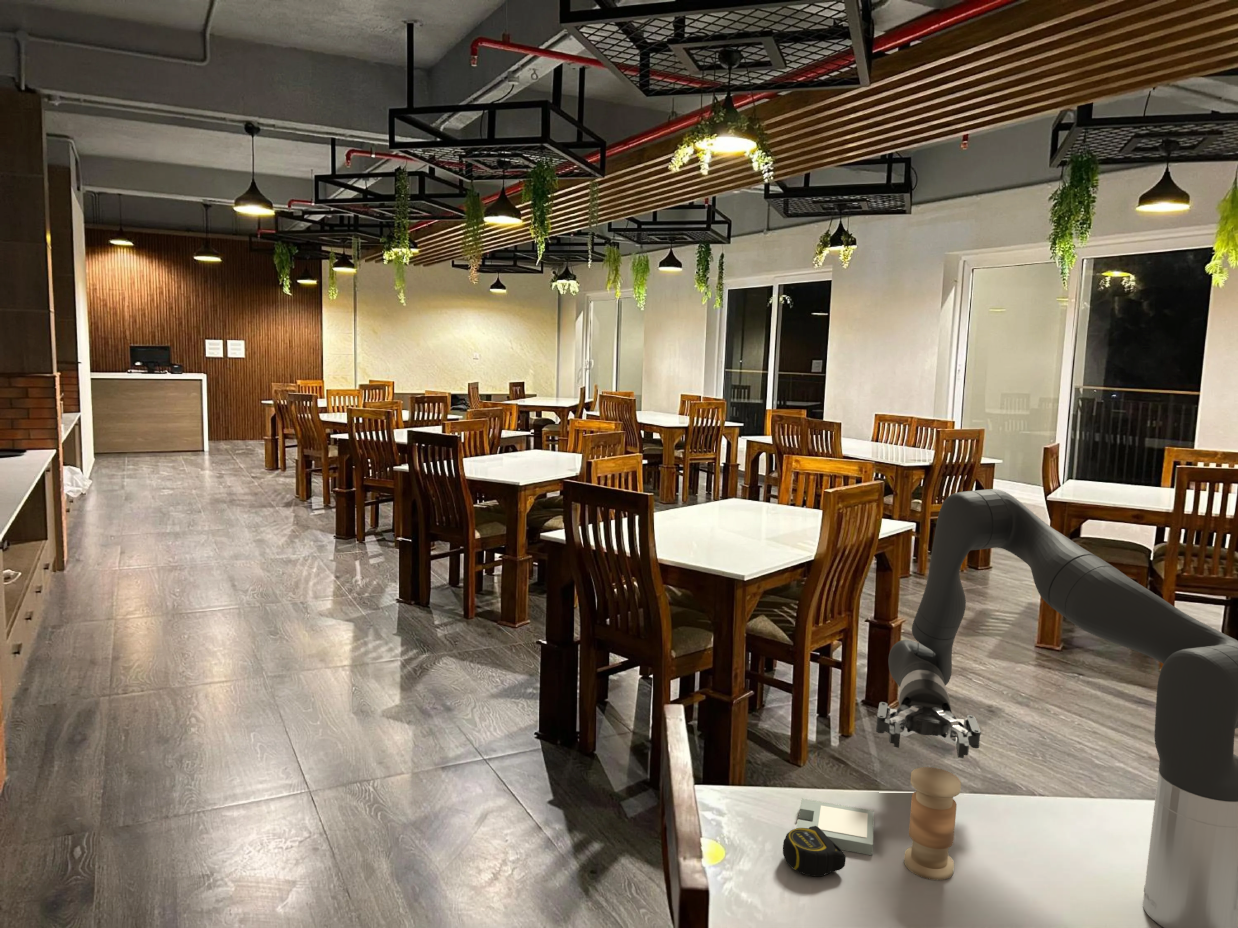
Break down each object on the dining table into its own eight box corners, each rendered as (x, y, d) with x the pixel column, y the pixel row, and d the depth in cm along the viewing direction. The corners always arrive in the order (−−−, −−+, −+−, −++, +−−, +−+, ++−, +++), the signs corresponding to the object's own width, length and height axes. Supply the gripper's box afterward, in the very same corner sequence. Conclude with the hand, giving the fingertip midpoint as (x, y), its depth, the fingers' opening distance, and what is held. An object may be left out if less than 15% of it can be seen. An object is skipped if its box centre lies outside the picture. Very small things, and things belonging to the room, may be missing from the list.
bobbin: (951, 857, 114) (959, 771, 113) (955, 883, 108) (963, 793, 107) (903, 848, 116) (910, 763, 114) (904, 874, 110) (911, 785, 109)
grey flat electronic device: (872, 820, 123) (873, 809, 122) (872, 855, 114) (873, 843, 114) (801, 807, 126) (801, 797, 125) (795, 840, 117) (795, 829, 117)
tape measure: (847, 877, 109) (849, 849, 109) (798, 885, 107) (800, 857, 107) (818, 847, 116) (820, 821, 115) (772, 854, 114) (774, 828, 113)
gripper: (878, 671, 138) (878, 712, 123) (974, 685, 134) (986, 729, 119) (875, 716, 139) (874, 762, 124) (970, 730, 135) (981, 780, 120)
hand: (929, 746), depth 122 cm, fingers open, 8 cm apart
